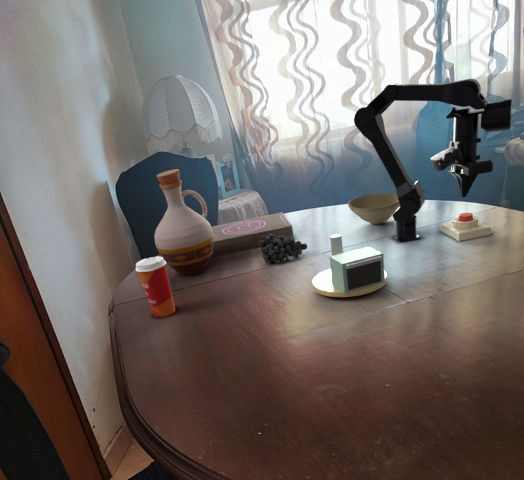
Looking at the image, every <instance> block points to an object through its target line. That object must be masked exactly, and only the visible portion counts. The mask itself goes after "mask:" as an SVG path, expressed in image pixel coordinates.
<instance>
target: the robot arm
mask: <svg viewBox="0 0 524 480" xmlns="http://www.w3.org/2000/svg"><path fill="white" fill-rule="evenodd" d="M481 91H482V86H481V84H480V82H479V81H478V80H477V79H475V78H466V79H460V80H456V81H451V82H447V83H403V84H401V83H395V82H393V83H389V84H387V85H386V86H385V87H384V89H383V90H381V92H380V93H379V94H378V95H376V96H375V98H373V99H372V100H371V101H370V102H369V103H368V104H367V105H365V106H362V107H360V108H358V110H356V112H355V113H354V117H353V123H354V125H355V127H356V129H357V131H359V132H360V133H361V135H362V136H363V137H364V138H365V139H366V140H368V141H369V142H370V143H371V144H372V146H373V148H374V150H375V152H376V154H377V156H378V157H379V159H380V161H381V163H382V165H383V167H384V168H385V171H386V173H387V174H388V176H389V178H390V179H391V181H392V184H393V185H394V187H395V192H396V194H397V198H398V201H399V204H400V207H399V208H398V209H397V210H396V211H395V213H394V214H393V215H392V219H393V220H394V222H395V233H396V234H393V235H392V238H393V239H394V240H396V241H397V242H399V243H403V242H404V243H405V242H408V241H413V240H419V239H421V238H422V236H421V235H420V234H418V233H417V215H416V214H417V213H418V212H420V210H421V208H422V207H423V205H424V204H425V201H426V193H427V191H426V190H425V189H424V188H423V187H422V183H421V180H420V179H418V180H417V181H414V180H413V179H411V178H410V176H409V174H408V172H407V170H406V168H405V167H404V165H403V163H402V161H401V160H400V158H399V156H398V154H397V152H396V150H395V148H394V146H393V144H392V142H391V141H390V139H389V137H388V135H387V133H386V128H385V127H386V126H385V121H384V119H383V116H382V115H383V114H384V113H385V112H386V111H387V110H388V108H389V107H391V105H392V104H393V103H394V102H440V103H444V104H447V105H452V106H453V107H451V110H450V111H449V113H448V114H447V115H446V116H445V119H448V120H449V119H453V140H450V142H449V144H448V148H446V149H443V150H442V151H440V152H438V153H437V154H434V155H433V156H432V157H430V161H431V165H432V167H433V170H435V171H438V172H442V171H445V170H446V169H447V168H448V167H450V169H449V170H448V171H447V172H448V173H449V174H450V175H452V177H454V178H455V181H456V184H457V187H458V191H459V196H460V197H461V198H462V199H463V198H467V195H468V194H469V192H470V190H471V188H472V187H473V184H474V182H475V180H476V179H477V178H478V175H481V174H482V175H483V174H486V173H487V174H488V173H492V172H494V162H493V161H492V160H491V159H488V158H481V155H480V154H478V143H481V142H482V137H478V136H479V119H480V129H481V130H484V133H495V132H502V131H510V130H511V129H512V117H513V112H512V103H513V99H512V98H508V99H503V100H500V101H493V102H488V99H487V98H485V96H484V94H482V92H481ZM456 107H460V109H457V108H456ZM470 108H471V109H474V110H475V111H471V110H470ZM479 116H480V118H479Z"/></svg>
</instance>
